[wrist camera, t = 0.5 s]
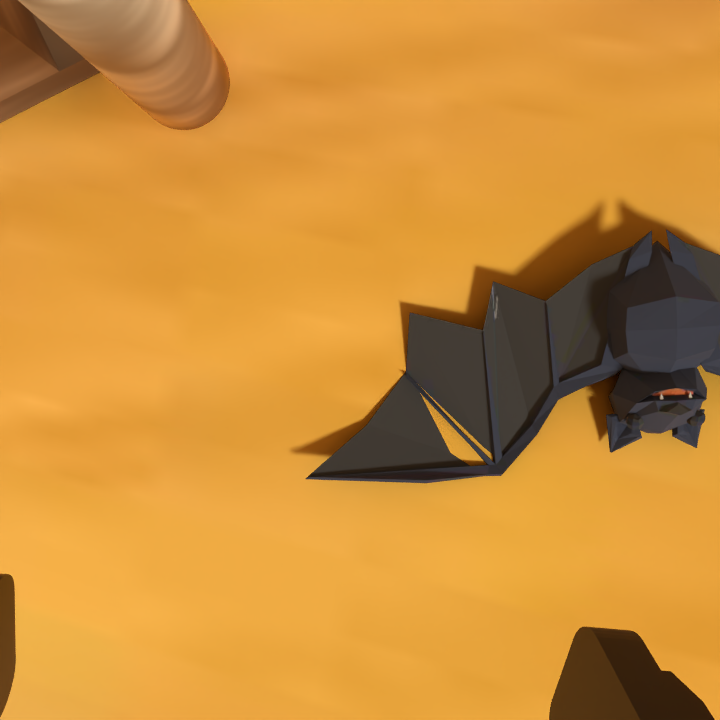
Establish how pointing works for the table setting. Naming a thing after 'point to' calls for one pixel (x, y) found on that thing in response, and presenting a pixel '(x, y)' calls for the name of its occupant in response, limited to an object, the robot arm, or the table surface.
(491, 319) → the decorative bat
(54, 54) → the brown block
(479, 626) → the table surface
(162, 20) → the dowel
